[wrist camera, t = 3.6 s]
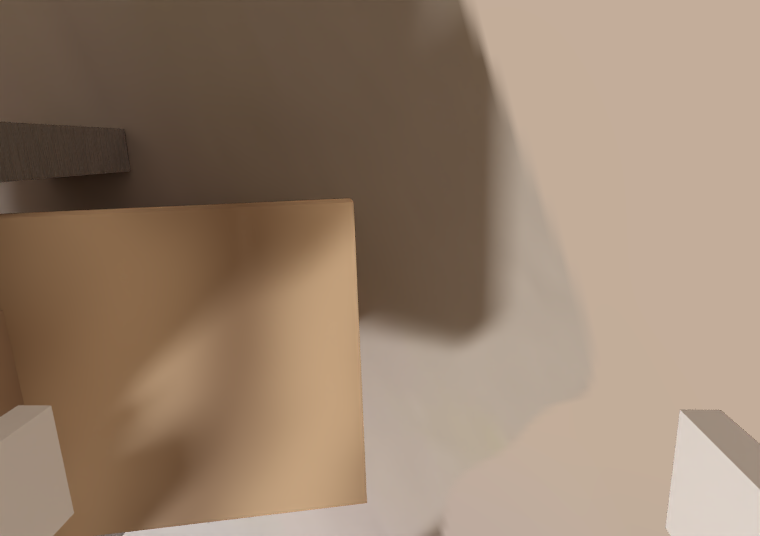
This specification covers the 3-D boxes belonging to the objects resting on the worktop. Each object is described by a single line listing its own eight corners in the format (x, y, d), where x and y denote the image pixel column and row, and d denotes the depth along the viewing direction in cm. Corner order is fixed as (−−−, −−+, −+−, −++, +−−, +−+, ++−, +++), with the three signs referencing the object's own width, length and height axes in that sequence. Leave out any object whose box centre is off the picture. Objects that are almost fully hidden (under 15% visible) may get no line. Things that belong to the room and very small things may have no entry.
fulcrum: (100, 465, 23) (-176, 741, 12) (36, 132, 19) (-428, 114, 9) (174, 467, 23) (-43, 751, 12) (124, 129, 19) (-247, 107, 8)
